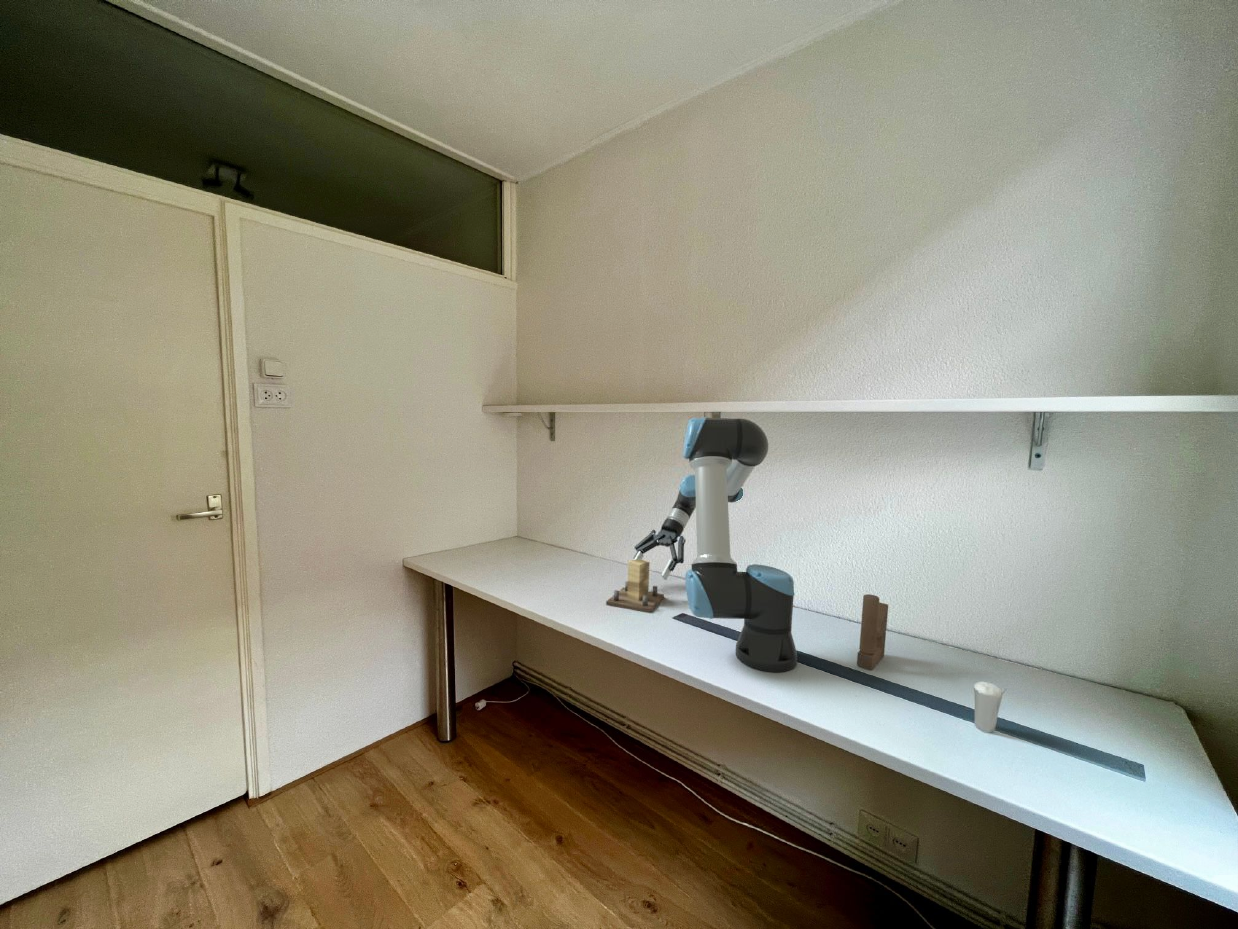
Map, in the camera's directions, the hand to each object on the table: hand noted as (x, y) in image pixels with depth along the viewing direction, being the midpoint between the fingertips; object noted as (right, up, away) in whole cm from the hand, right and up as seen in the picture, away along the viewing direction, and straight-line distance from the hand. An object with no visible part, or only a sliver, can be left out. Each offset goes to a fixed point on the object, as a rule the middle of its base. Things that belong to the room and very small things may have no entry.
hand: (647, 573), depth 167 cm
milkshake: (+64, -16, -69) cm, 96 cm away
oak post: (-4, -7, -4) cm, 9 cm away
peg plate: (-4, -8, -4) cm, 10 cm away
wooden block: (+55, -14, -42) cm, 70 cm away
